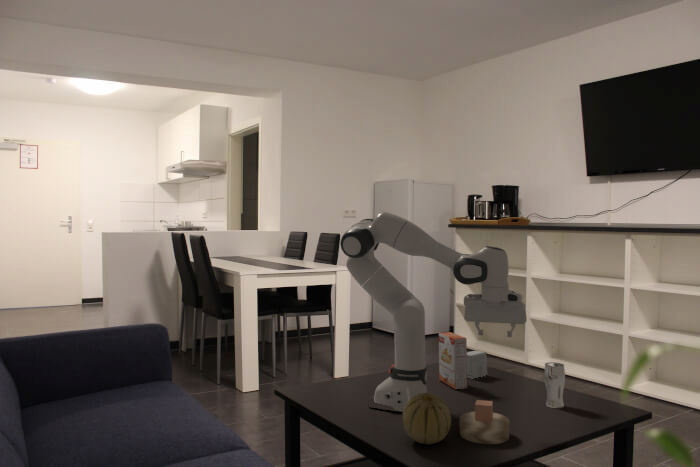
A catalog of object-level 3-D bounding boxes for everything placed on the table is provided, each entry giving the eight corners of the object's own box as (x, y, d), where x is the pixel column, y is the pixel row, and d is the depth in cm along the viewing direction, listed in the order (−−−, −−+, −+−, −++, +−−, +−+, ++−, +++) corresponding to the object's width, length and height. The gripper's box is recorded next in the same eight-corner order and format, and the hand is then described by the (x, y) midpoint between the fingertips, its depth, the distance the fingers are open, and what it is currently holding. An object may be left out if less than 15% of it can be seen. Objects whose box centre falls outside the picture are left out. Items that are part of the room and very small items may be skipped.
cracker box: (438, 381, 236) (438, 332, 236) (451, 380, 237) (450, 331, 237) (454, 390, 222) (453, 338, 222) (467, 389, 224) (467, 337, 224)
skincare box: (475, 373, 250) (475, 349, 250) (487, 376, 244) (487, 352, 244) (460, 377, 243) (460, 353, 243) (472, 380, 238) (471, 355, 238)
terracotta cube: (475, 420, 172) (474, 404, 172) (476, 415, 176) (476, 399, 176) (491, 422, 170) (491, 405, 170) (492, 417, 175) (492, 401, 175)
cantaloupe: (432, 430, 178) (431, 383, 178) (462, 445, 165) (461, 395, 165) (393, 439, 171) (392, 390, 171) (421, 455, 158) (420, 402, 158)
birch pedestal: (456, 441, 168) (456, 424, 168) (462, 424, 183) (462, 409, 183) (508, 446, 164) (508, 429, 164) (510, 429, 178) (510, 413, 178)
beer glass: (552, 409, 197) (552, 367, 197) (540, 403, 204) (540, 363, 204) (569, 407, 199) (569, 365, 199) (557, 402, 206) (556, 361, 206)
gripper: (462, 294, 187) (462, 335, 187) (525, 296, 181) (526, 339, 181) (464, 292, 193) (465, 332, 193) (526, 294, 186) (526, 336, 187)
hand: (495, 335), depth 187 cm, fingers open, 8 cm apart
